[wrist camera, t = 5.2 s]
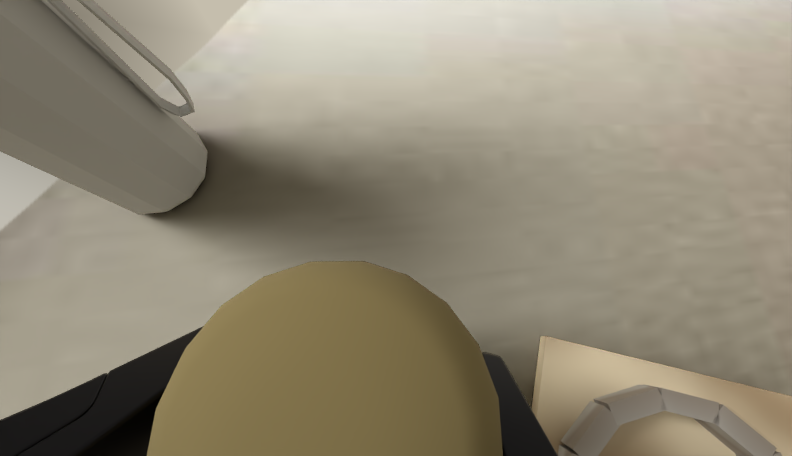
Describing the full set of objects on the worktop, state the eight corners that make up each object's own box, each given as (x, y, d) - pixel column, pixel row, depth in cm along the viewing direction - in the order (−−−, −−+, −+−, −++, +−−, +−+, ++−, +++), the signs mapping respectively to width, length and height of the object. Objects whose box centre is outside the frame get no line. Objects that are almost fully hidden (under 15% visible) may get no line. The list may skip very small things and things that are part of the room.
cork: (466, 312, 15) (577, 238, 5) (449, 474, 13) (573, 953, 3) (329, 290, 16) (157, 181, 5) (295, 442, 14) (-71, 740, 3)
